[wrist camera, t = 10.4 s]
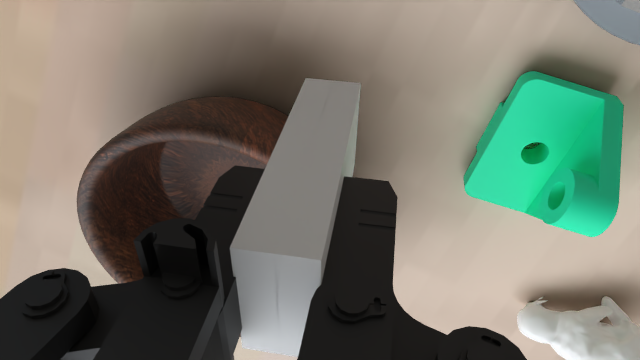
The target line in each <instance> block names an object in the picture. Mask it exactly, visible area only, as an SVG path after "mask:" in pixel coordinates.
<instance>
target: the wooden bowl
mask: <svg viewBox="0 0 640 360" xmlns="http://www.w3.org/2000/svg"><path fill="white" fill-rule="evenodd" d="M287 119H288V116H287V115H285V114H284V113H282V112H280V111H278V110H276V109H273V108H271V107H269V106H266V105H263V104H260V103H257V102H254V101H250V100H246V99H240V98H234V97H202V98H195V99H189V100H185V101H181V102H178V103H175V104H172V105H169V106H166V107H164V108H161V109H159V110H157V111H155V112H153V113H151V114H149V115H147V116H145V117H144V118H142V119H140V120H139V121H137V122H136V123H134V124H133V125H131V126H130V127H128V128H127V129H125V130H124V131H122V132H121V133H120V134H118V135H117V136H115V137H114V138H112V139H111V140H110V141H109V142H107V143H106V144H105V145H104V146H103V147H102V148H101V149H100V150H98V151H97V153H96V154H95V155H94V156H93V157H92V159H91V160H90V162H89V163H88V165H87V167H86V169H85V171H84V173H83V175H82V178H81V180H80V183H79V188H78V193H77V212H78V217H79V222H80V225H81V229H82V232H83V234H84V236H85V239H86V241H87V243H88V245H89V247H90V249H91V250H92V252H93V253H94V255H95V257H96V258H97V260H98V261H99V262H100V263H101V265H102V266H103V267H104V269H105V270H106V271H107V272H108V273H109V274H110V275H111V277H112V278H113V279H114V280H115V281H116V282H117V283H119V284H120V283H127V282H132V281H137V280H140V279H142V278H143V277H144V275H143V272H142V269H141V265H140V262H139V258H138V255H137V252H136V248H135V245H134V241H133V240H134V239H135V238H136V237H137V236H138V235H139V234H140V233H141V232H142V231H143V230H145V229H147V228H149V227H150V226H152V225H154V224H156V223H158V222H162V221H166V220H170V219H176V218H189V219H193V220H195V219H196V217H197V215H198V213H199V212H200V210H201V208H203V205H204V203H205V201H206V199H207V198H208V196H210V192H211V191H212V189H213V187H214V185H215V183H216V182H217V180H218V178H219V177H220V176H222V175H223V174H224V173H226V172H227V171H228V170H230V169H231V168H232V167H234V166H235V165H236V166H244V167H253V168H262V169H265V168H266V166H267V163H268V161H269V159H270V157H271V154H272V152H273V150H274V148H275V146H276V143H277V141H278V139H279V137H280V134H281V132H282V130H283V128H284V125H285V123H286V121H287ZM239 337H241V333H240V336H239Z"/></svg>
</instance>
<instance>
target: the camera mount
mask: <svg viewBox="0 0 640 360" xmlns="http://www.w3.org/2000/svg"><path fill="white" fill-rule="evenodd" d="M623 108H624V105H623V104H622V103H621V101H620V100H619V99H618V97H617V96H614V95H611V94H607V93H604V92H601V91H598V90H594V89H591V88H588V87H585V86H582V85H578V84H575V83H572V82H569V81H565V80H562V79H559V78H556V77H553V76H549V75H546V74H543V73H540V72H536V71H530V72H526V73H524V74H523V75H521V76H520V77H519V78H518V80H517V82H516V84H515V85H514V87H513V89H512V91H511V93H510V94H509V96H508V98H507V100H506V101H505V103H502V102H501V103H500V104H499V106H498V108H497V110H496V112H495V113H494V115H493V117H492V119H491V121H490V123H489V124H488V126H487V128H486V130H485V132H484V133H483V135H482V137H481V139H480V141H479V142H478V144H477V146H476V149H477V153H476V155H475V157H474V159H473V161H472V162H471V164H470V166H469V168H468V169H467V171H466V173H465V175H464V186H465V191H466V193H467V194H468V195H469V196H471V197H474V198H478V199H481V200H484V201H487V202H491V203H494V204H497V205H501V206H504V207H507V208H510V209H514V210H517V211H520V212H524V213H526V214H529V215H531V216H534V217H536V218H539V219H541V220H543V221H544V222H545V223H547V224H550V225H553V226H556V227H559V228H563V229H566V230H569V231H573V232H576V233H579V234H582V235H586V236H589V237H595V236H598V235H600V234H601V233H603V232H604V231H605V230H606V229H607V228H608V227H609V226H610V224H611V223H612V221H613V219H614V217H615V215H616V212H617V209H618V204H619V188H620V168H621V148H622V128H623ZM534 142H540V144H539V145H538V146H536V147H534V148H531V149H524V147H525V146H527V145H528V144H530V143H534Z"/></svg>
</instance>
